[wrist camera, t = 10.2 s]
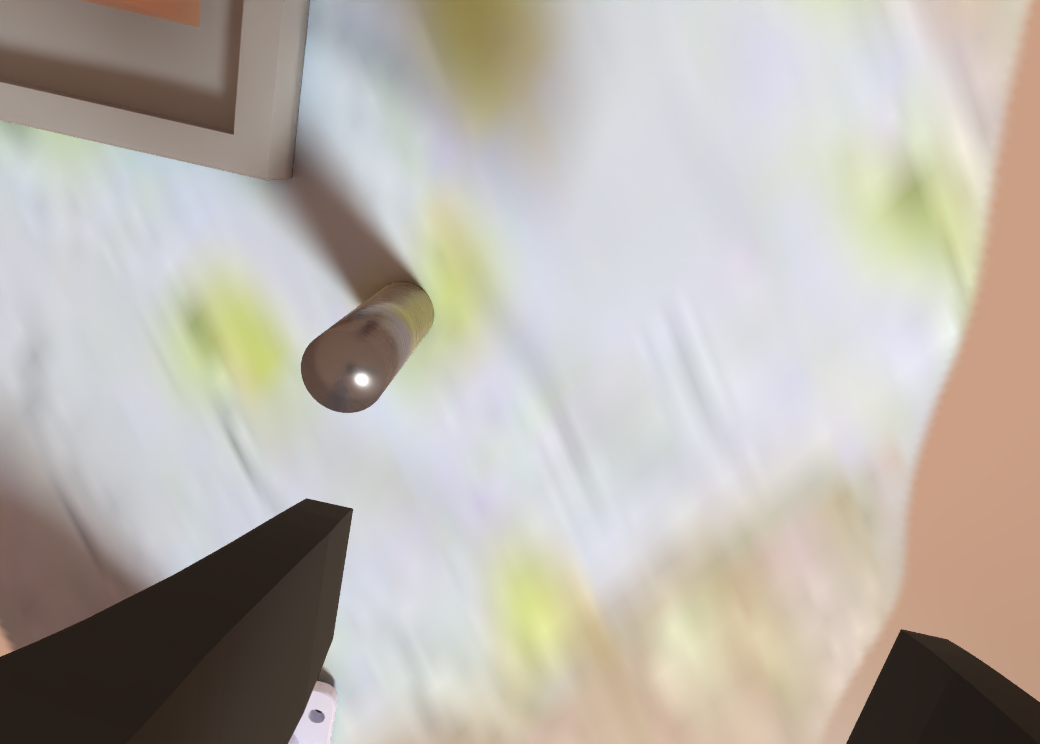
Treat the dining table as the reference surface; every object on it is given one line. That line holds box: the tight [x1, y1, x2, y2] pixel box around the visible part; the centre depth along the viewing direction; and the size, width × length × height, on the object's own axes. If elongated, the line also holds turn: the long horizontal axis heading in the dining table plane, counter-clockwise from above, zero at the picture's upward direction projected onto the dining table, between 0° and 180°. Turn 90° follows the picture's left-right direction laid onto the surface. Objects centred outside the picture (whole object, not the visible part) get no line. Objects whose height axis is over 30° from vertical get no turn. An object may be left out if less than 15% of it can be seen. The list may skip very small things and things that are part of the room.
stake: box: [301, 282, 434, 413], centre depth 15 cm, size 2×2×5 cm
